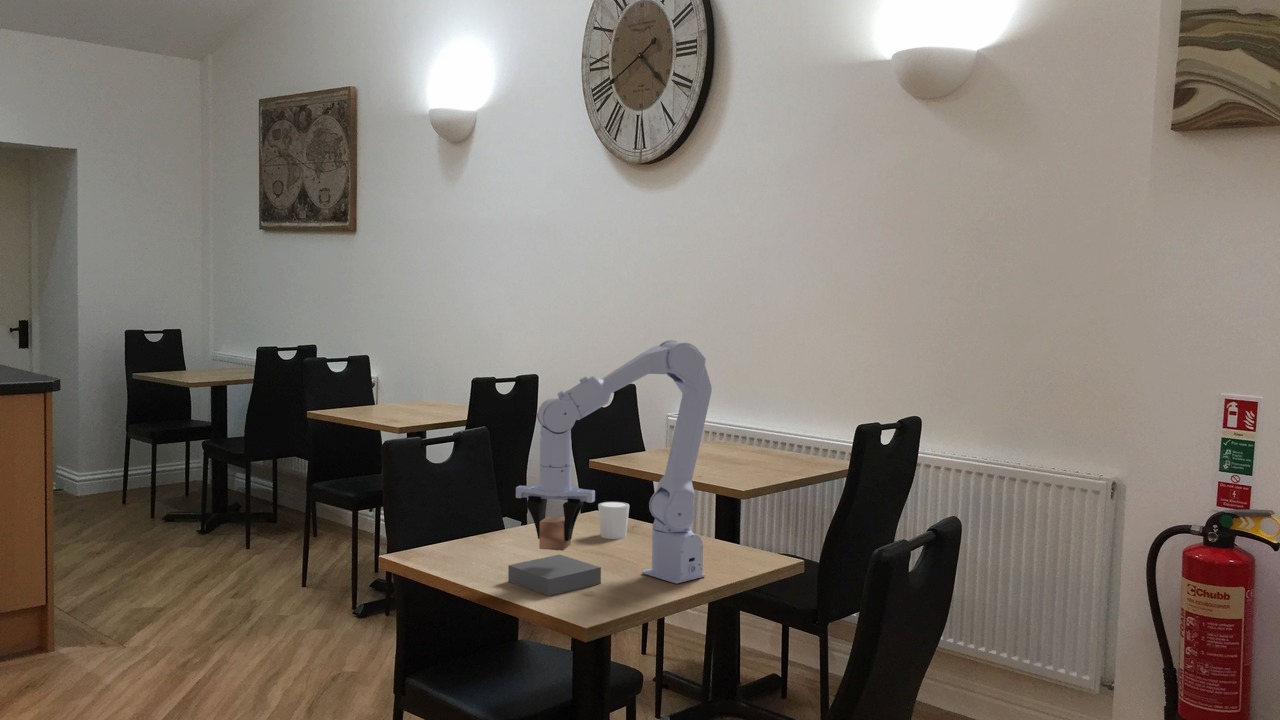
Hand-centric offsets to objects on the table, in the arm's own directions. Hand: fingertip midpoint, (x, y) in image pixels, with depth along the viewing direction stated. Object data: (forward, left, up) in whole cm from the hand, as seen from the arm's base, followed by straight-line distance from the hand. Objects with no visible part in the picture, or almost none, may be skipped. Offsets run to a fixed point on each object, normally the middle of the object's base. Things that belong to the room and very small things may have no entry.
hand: (554, 538), depth 188 cm
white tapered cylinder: (+20, -32, -8) cm, 39 cm away
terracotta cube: (0, 0, -2) cm, 2 cm away
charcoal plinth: (0, 0, -8) cm, 8 cm away
